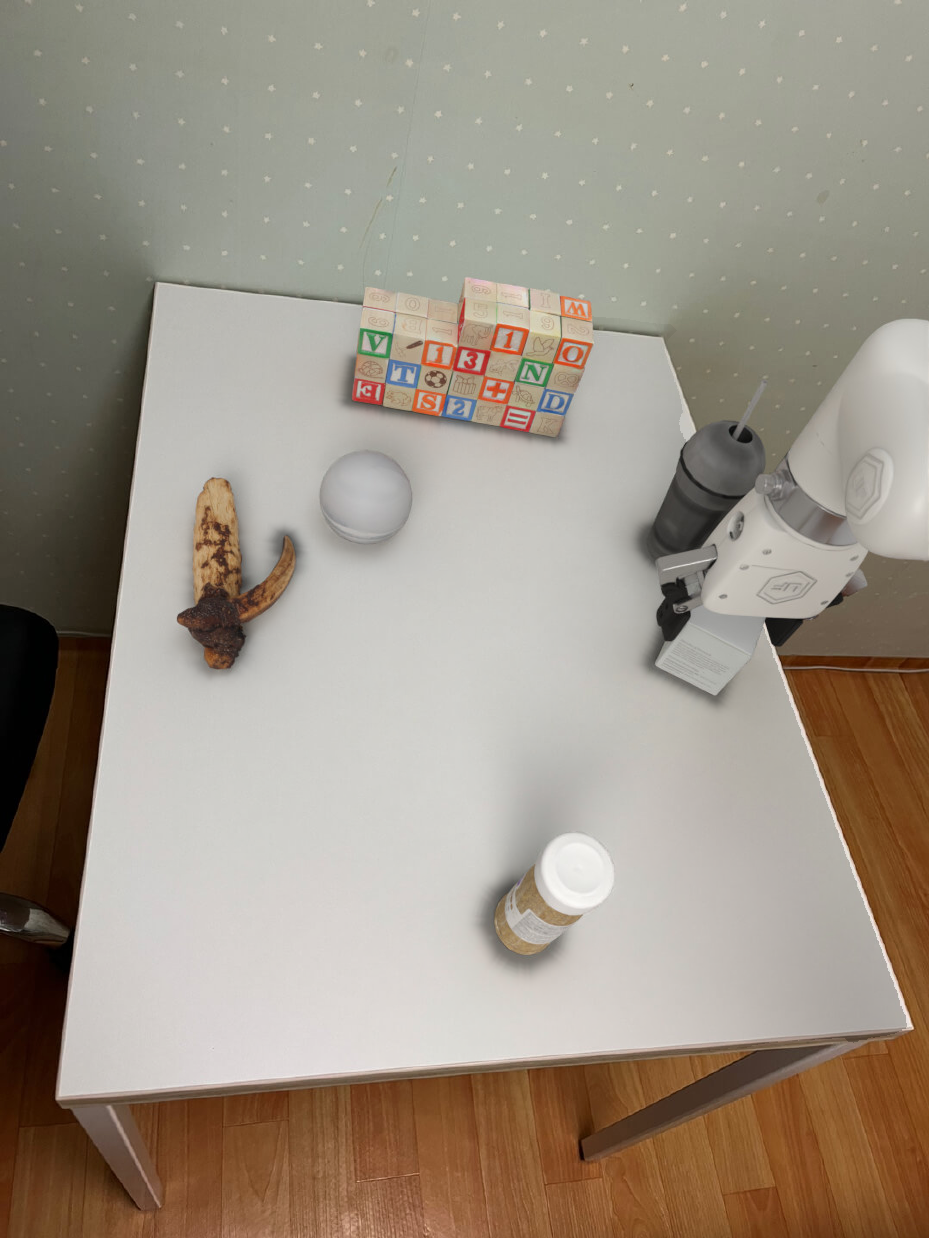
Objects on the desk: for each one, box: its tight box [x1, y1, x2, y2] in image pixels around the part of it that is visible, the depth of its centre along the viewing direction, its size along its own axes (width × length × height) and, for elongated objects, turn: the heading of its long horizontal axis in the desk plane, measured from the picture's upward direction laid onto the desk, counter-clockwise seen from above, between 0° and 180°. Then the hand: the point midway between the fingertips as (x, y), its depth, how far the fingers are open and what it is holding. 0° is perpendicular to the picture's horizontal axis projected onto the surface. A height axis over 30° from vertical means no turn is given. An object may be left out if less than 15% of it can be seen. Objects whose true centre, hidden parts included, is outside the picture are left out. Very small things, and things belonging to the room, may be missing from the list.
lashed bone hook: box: [176, 476, 297, 670], centre depth 70 cm, size 9×5×18 cm
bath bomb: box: [318, 449, 413, 545], centre depth 74 cm, size 8×8×8 cm
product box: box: [654, 583, 766, 697], centre depth 74 cm, size 6×6×7 cm
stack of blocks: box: [351, 276, 595, 438], centre depth 84 cm, size 21×6×12 cm, turn 88°
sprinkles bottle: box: [493, 831, 616, 956], centre depth 56 cm, size 5×5×14 cm
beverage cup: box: [646, 379, 769, 561], centre depth 75 cm, size 7×7×20 cm
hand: (718, 629), depth 73 cm, fingers open, 9 cm apart
